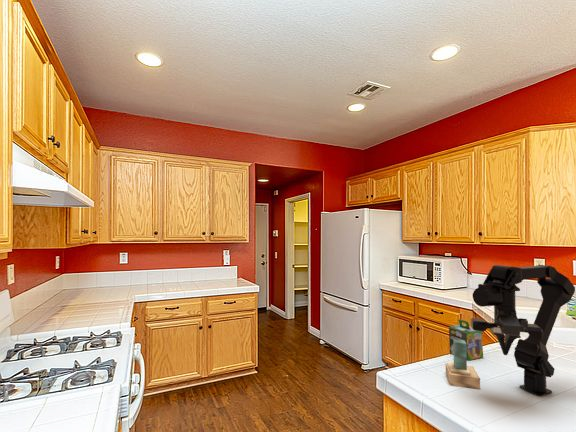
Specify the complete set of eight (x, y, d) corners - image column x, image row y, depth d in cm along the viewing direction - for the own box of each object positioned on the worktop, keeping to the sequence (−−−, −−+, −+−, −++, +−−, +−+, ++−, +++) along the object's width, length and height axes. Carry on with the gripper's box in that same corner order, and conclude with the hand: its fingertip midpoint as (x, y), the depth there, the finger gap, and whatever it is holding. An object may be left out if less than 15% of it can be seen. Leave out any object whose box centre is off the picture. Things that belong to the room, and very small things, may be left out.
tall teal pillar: (466, 366, 117) (465, 338, 118) (470, 375, 110) (469, 345, 110) (447, 364, 119) (447, 337, 119) (450, 372, 112) (450, 343, 112)
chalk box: (483, 358, 134) (483, 321, 135) (467, 361, 131) (466, 323, 132) (464, 350, 143) (463, 316, 144) (448, 353, 140) (447, 318, 140)
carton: (473, 376, 117) (473, 366, 118) (480, 389, 108) (479, 378, 108) (445, 372, 120) (445, 363, 120) (450, 384, 111) (449, 374, 111)
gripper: (475, 307, 100) (476, 358, 100) (549, 313, 94) (550, 369, 93) (470, 300, 111) (470, 347, 110) (536, 306, 104) (537, 356, 103)
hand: (505, 354), depth 104 cm, fingers closed
